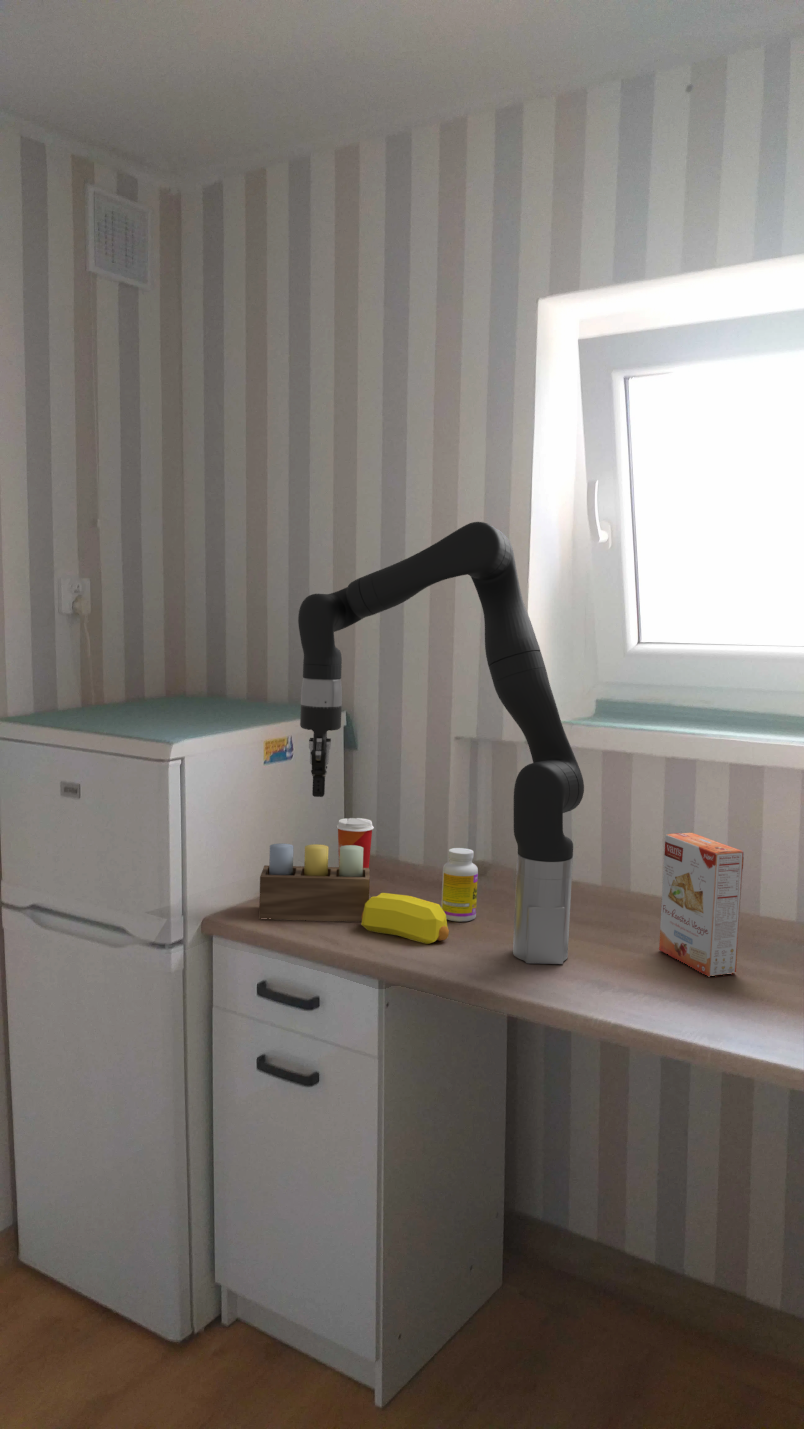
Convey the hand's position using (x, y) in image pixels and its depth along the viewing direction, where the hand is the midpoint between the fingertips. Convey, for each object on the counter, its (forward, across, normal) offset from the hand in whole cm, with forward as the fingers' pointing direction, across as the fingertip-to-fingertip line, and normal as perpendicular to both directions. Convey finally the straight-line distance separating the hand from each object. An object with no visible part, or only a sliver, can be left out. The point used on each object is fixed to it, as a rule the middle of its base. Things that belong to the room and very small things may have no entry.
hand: (318, 795), depth 195 cm
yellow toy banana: (+23, -11, -16) cm, 30 cm away
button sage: (+16, 0, -6) cm, 17 cm away
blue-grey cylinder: (+16, 0, +7) cm, 17 cm away
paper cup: (+23, +19, -7) cm, 30 cm away
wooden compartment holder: (+22, 0, 0) cm, 22 cm away
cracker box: (+22, -23, -65) cm, 73 cm away
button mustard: (+16, 0, 0) cm, 16 cm away
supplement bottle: (+23, 0, -27) cm, 35 cm away
